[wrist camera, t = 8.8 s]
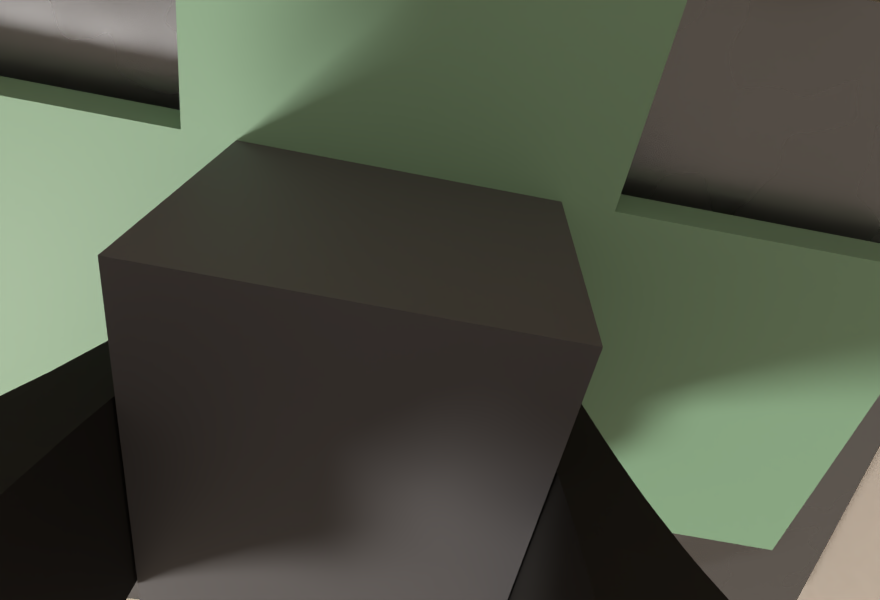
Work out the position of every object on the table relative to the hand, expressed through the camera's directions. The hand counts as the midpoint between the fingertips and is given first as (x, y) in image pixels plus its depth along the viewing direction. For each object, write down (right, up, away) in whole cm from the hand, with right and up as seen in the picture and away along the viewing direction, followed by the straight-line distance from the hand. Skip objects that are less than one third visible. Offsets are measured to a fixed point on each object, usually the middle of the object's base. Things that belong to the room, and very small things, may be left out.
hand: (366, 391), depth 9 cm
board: (0, +1, +1) cm, 2 cm away
